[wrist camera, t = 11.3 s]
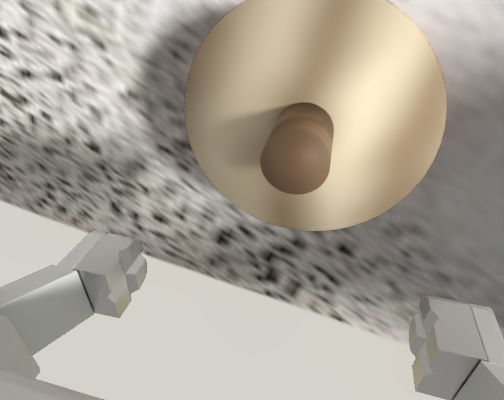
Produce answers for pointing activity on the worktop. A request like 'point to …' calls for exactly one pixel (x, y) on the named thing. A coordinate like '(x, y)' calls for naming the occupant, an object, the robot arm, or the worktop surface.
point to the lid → (315, 110)
